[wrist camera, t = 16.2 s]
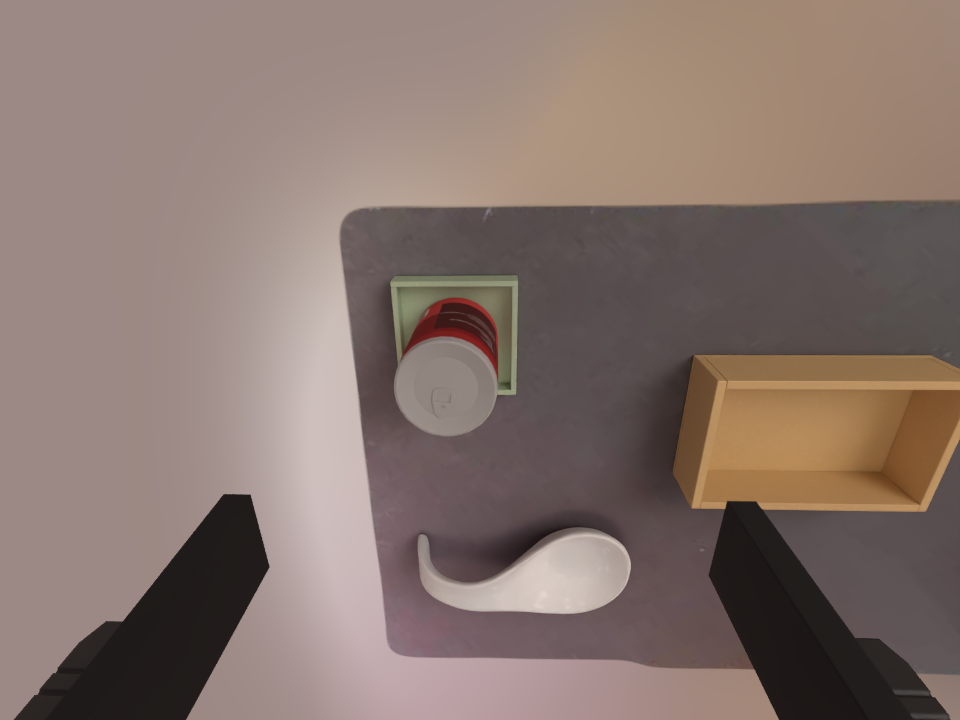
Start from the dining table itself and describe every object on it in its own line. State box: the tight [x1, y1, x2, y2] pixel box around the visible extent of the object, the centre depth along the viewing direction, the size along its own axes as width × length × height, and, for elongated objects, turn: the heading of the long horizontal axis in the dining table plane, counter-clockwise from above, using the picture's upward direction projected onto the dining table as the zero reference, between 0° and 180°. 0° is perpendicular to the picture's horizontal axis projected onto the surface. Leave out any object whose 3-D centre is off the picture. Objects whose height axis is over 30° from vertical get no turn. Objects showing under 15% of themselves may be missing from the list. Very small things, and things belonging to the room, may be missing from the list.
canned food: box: [394, 298, 498, 436], centre depth 40 cm, size 8×8×11 cm
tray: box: [390, 275, 518, 395], centre depth 44 cm, size 11×11×2 cm
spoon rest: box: [418, 527, 631, 614], centre depth 52 cm, size 24×12×7 cm, turn 92°
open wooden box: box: [672, 355, 960, 512], centre depth 45 cm, size 22×14×6 cm, turn 91°
